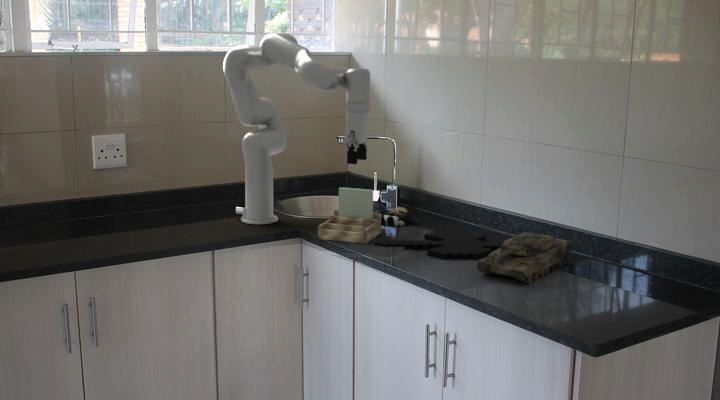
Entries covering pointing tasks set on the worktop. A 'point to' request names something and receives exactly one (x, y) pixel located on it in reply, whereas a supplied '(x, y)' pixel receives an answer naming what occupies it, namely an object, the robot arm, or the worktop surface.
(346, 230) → the rack
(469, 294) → the worktop surface
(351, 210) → the board
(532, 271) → the toy
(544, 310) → the worktop surface
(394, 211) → the toy
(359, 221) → the offcut top
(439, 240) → the decorative axe
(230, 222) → the worktop surface
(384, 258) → the worktop surface
